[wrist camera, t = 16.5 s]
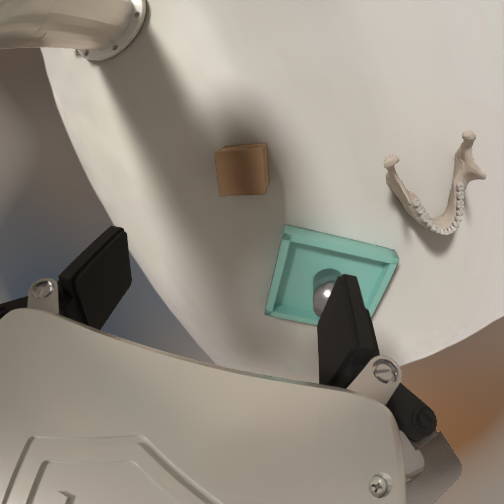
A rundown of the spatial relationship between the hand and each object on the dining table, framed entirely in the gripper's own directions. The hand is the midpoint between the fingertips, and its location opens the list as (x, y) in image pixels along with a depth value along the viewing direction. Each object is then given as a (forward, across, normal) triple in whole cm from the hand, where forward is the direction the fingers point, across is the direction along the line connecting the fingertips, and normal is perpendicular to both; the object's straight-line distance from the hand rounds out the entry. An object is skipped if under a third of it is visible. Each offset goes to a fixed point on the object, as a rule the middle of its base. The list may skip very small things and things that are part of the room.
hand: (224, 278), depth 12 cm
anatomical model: (+24, -21, -2) cm, 32 cm away
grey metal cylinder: (+23, -12, +15) cm, 30 cm away
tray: (+23, -12, +15) cm, 30 cm away
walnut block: (+24, +2, +1) cm, 25 cm away
